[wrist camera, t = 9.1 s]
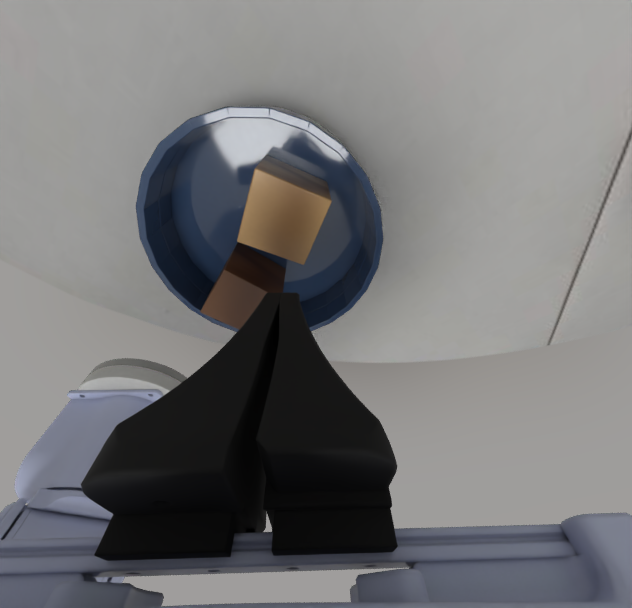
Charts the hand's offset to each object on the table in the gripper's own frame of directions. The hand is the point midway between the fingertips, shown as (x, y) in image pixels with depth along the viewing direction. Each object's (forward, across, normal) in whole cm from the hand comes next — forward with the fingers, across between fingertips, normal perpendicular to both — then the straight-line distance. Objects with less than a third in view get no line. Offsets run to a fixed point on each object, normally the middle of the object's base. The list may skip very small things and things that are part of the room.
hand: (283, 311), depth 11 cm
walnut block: (+9, +3, +4) cm, 10 cm away
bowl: (+9, +2, 0) cm, 10 cm away
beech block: (+9, 0, -2) cm, 9 cm away
